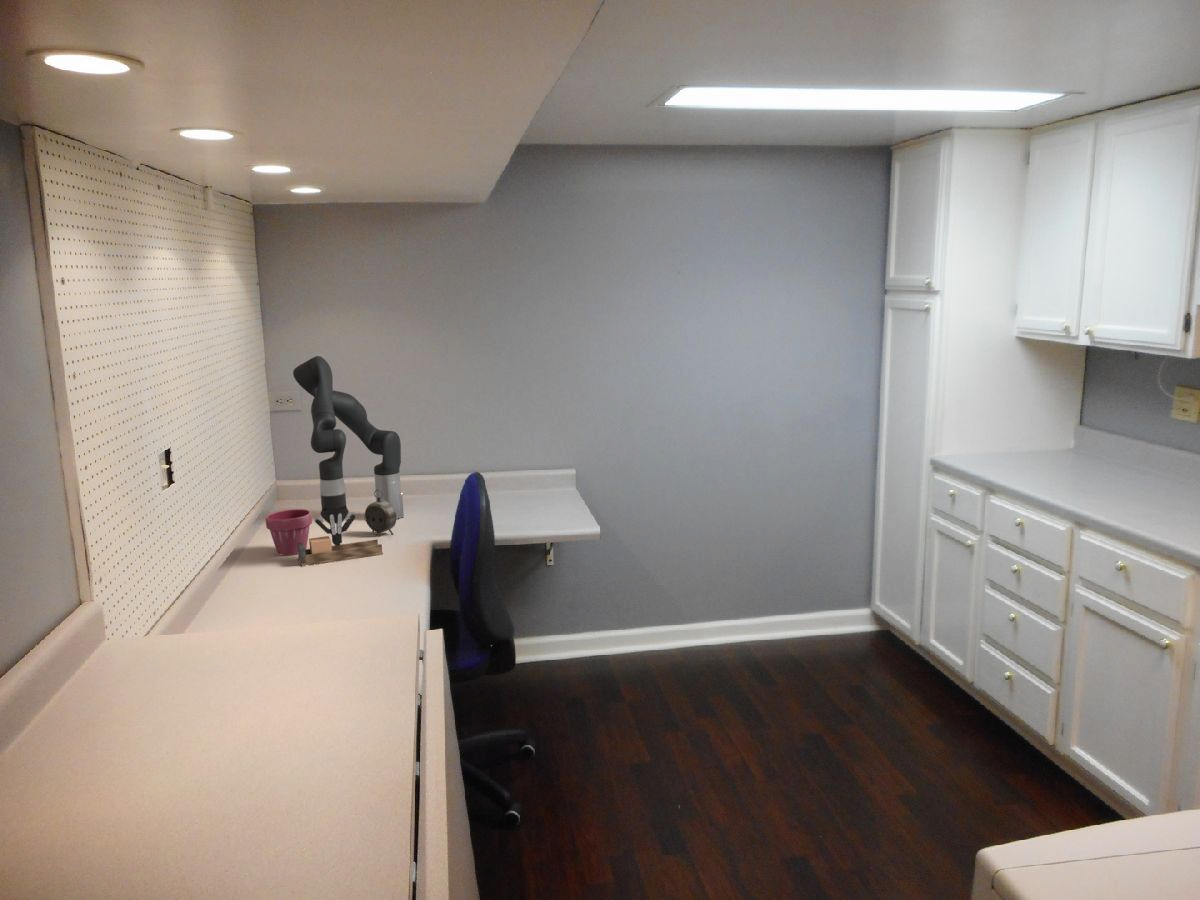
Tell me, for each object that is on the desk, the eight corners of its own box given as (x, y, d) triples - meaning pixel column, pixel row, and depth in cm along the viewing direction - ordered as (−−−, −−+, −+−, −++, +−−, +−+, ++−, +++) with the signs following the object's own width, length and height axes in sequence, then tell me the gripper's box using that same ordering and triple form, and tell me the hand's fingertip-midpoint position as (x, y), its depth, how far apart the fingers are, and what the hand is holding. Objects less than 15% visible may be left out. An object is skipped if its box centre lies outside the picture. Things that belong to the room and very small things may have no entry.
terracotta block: (329, 553, 276) (328, 535, 275) (332, 557, 272) (330, 539, 271) (310, 556, 274) (309, 538, 273) (312, 560, 269) (311, 542, 268)
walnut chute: (377, 547, 285) (376, 531, 284) (383, 554, 277) (381, 538, 276) (298, 558, 274) (296, 542, 273) (302, 566, 266) (300, 549, 265)
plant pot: (259, 555, 278) (255, 517, 276) (289, 544, 291) (286, 507, 289) (294, 559, 273) (290, 520, 271) (323, 547, 286) (320, 510, 284)
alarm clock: (398, 534, 301) (395, 488, 298) (388, 538, 296) (385, 492, 293) (373, 531, 305) (370, 486, 302) (363, 535, 300) (360, 489, 297)
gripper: (352, 487, 277) (356, 539, 280) (309, 492, 272) (314, 545, 275) (356, 492, 271) (360, 544, 274) (312, 497, 265) (317, 551, 268)
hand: (337, 544), depth 274 cm, fingers closed
